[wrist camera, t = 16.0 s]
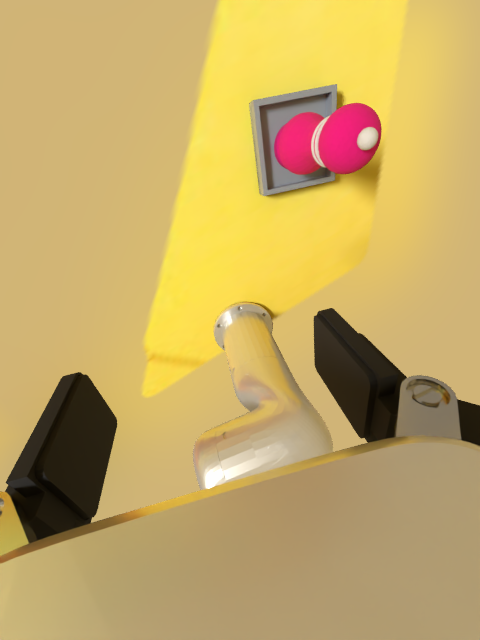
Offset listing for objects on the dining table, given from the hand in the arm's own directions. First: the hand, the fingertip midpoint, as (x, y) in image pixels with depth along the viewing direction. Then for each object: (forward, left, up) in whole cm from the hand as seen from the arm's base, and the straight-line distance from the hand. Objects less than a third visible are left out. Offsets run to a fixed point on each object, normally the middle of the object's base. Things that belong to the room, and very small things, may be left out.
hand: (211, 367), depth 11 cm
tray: (+6, -18, -38) cm, 43 cm away
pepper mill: (+6, -18, -38) cm, 42 cm away
